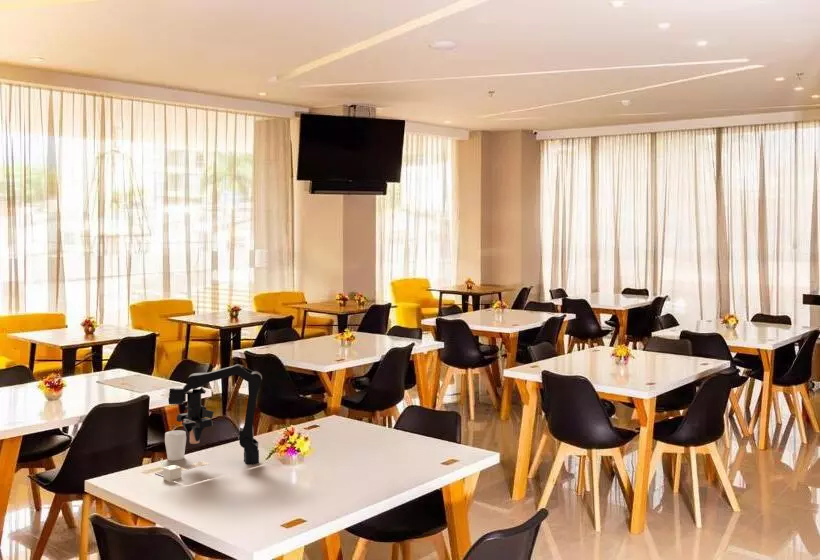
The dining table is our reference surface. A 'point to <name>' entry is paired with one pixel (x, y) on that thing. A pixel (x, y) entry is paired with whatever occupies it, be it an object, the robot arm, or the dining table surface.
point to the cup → (175, 444)
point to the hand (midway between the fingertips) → (194, 440)
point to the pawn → (192, 438)
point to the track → (187, 467)
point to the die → (171, 473)
